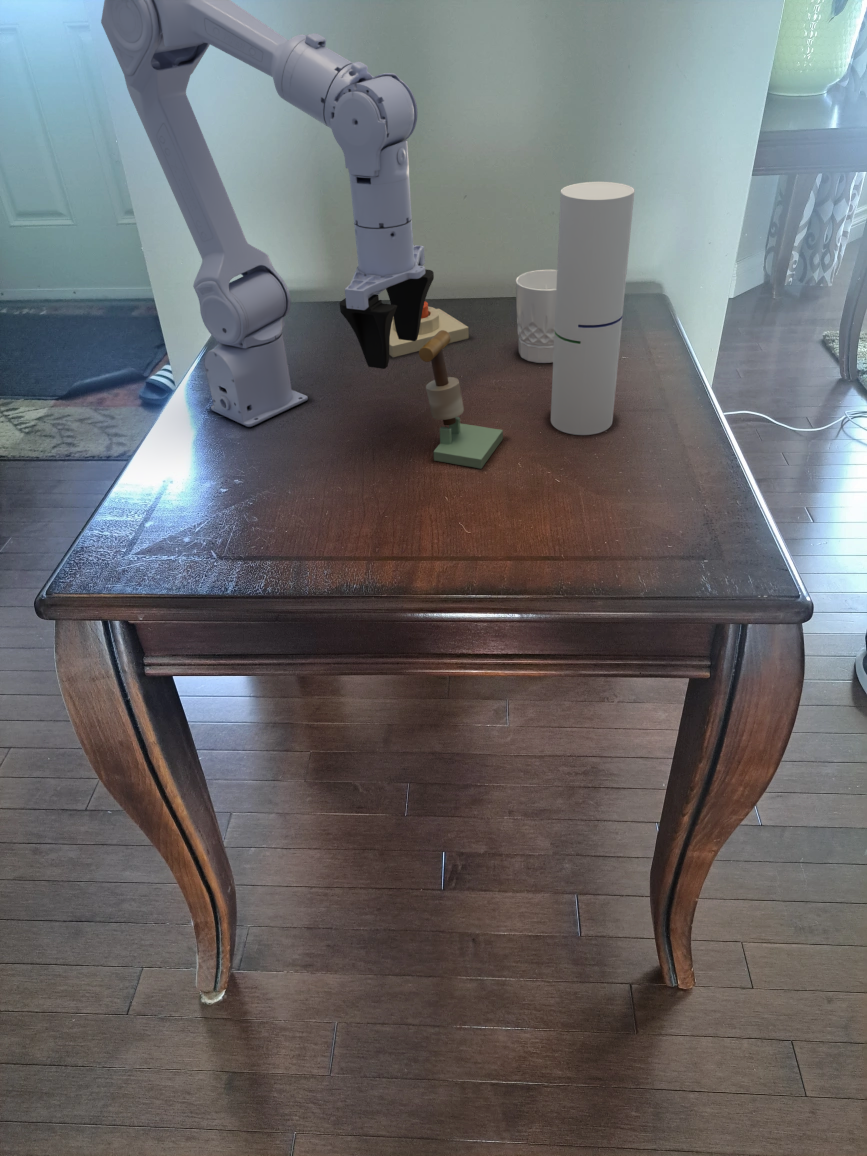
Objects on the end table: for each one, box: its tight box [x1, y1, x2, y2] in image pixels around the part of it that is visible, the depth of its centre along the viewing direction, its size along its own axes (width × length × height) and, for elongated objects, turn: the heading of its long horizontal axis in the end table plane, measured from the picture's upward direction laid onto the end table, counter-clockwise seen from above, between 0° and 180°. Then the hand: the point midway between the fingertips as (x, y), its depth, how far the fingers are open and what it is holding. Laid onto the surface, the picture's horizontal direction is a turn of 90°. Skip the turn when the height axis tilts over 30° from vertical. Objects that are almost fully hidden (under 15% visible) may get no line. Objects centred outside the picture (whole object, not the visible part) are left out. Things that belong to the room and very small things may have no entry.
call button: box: [421, 301, 429, 319], centre depth 117 cm, size 4×4×2 cm
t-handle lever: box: [418, 330, 465, 426], centre depth 89 cm, size 10×5×4 cm
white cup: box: [515, 269, 557, 364], centre depth 109 cm, size 8×8×10 cm
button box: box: [389, 306, 470, 358], centre depth 118 cm, size 12×9×4 cm
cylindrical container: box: [550, 181, 635, 436], centre depth 89 cm, size 7×7×25 cm
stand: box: [433, 416, 504, 470], centre depth 92 cm, size 6×7×3 cm
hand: (393, 352), depth 90 cm, fingers open, 7 cm apart
